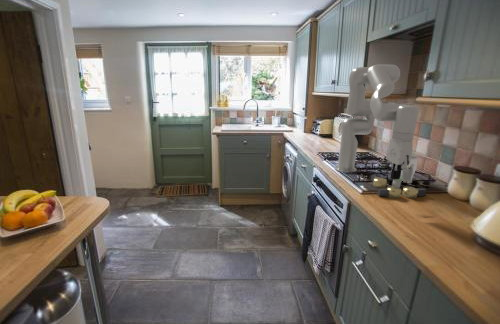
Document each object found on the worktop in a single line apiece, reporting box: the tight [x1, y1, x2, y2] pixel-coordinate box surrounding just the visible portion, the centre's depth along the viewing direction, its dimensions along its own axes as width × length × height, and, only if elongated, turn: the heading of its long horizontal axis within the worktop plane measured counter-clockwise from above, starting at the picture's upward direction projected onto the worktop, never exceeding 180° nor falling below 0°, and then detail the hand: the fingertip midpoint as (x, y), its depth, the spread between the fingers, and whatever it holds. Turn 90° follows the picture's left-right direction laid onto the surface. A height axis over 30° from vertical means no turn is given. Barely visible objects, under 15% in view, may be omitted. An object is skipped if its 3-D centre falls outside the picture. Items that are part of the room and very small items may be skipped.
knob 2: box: [401, 185, 427, 200], centre depth 122 cm, size 10×6×4 cm, turn 93°
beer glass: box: [400, 155, 419, 184], centre depth 139 cm, size 7×7×15 cm
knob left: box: [370, 174, 388, 189], centre depth 135 cm, size 10×6×4 cm, turn 3°
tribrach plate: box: [391, 175, 403, 189], centre depth 127 cm, size 19×15×7 cm
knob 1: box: [376, 185, 402, 200], centre depth 121 cm, size 10×6×4 cm, turn 93°
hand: (394, 178), depth 112 cm, fingers closed
